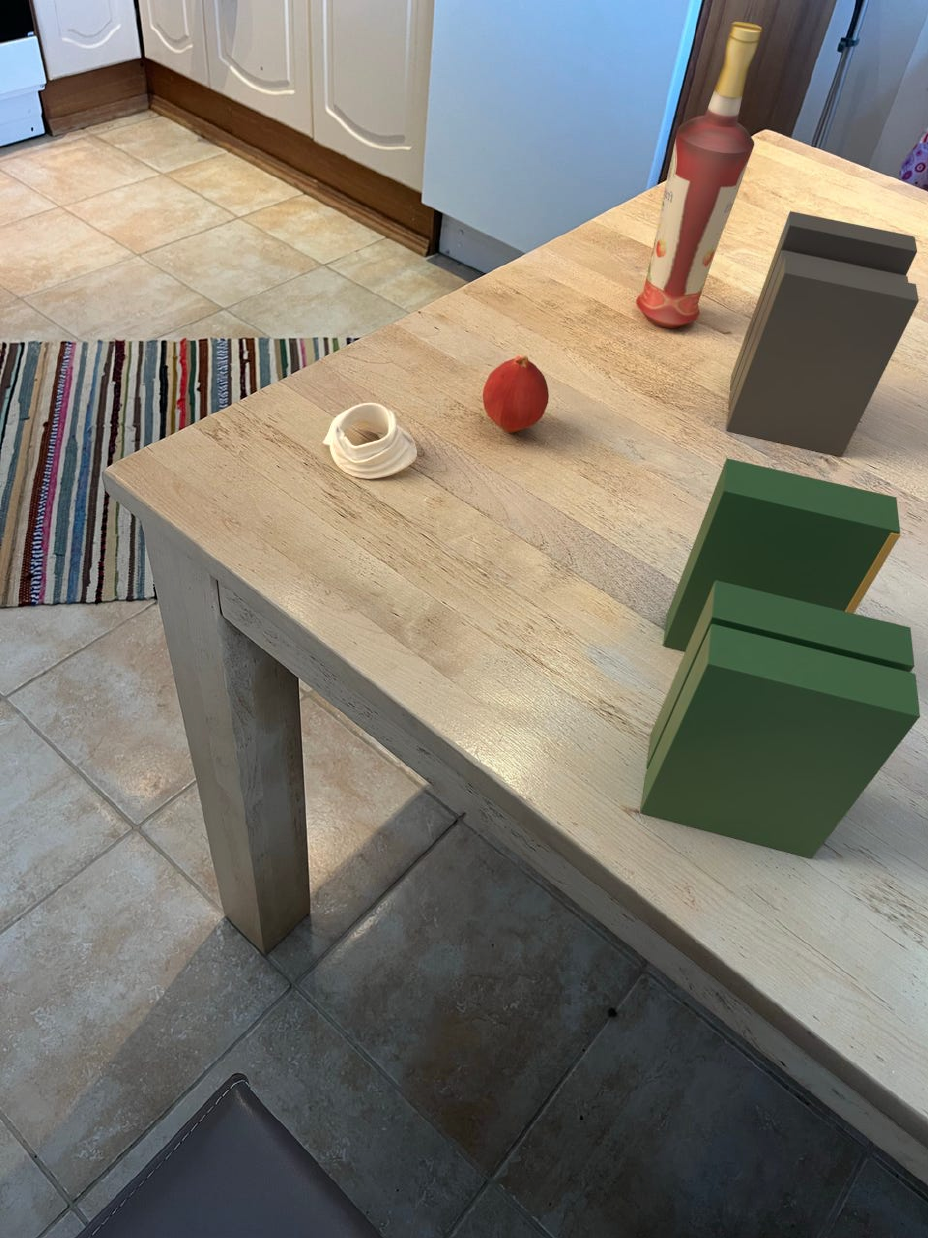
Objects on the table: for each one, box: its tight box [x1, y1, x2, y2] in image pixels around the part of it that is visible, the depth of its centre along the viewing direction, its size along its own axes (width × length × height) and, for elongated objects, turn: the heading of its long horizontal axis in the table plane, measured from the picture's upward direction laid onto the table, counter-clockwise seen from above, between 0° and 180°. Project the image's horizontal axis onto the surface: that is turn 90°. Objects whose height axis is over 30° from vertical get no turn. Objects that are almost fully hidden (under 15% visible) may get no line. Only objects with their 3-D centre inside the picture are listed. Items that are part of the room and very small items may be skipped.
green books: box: [639, 580, 921, 859], centre depth 57 cm, size 6×11×15 cm, turn 76°
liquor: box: [636, 21, 763, 329], centre depth 93 cm, size 7×7×28 cm
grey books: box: [725, 210, 920, 458], centre depth 86 cm, size 10×11×17 cm
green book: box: [662, 458, 901, 652], centre depth 65 cm, size 4×11×15 cm, turn 76°
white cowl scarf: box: [322, 402, 418, 480], centre depth 80 cm, size 8×7×5 cm
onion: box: [482, 353, 550, 434], centre depth 84 cm, size 6×6×8 cm
